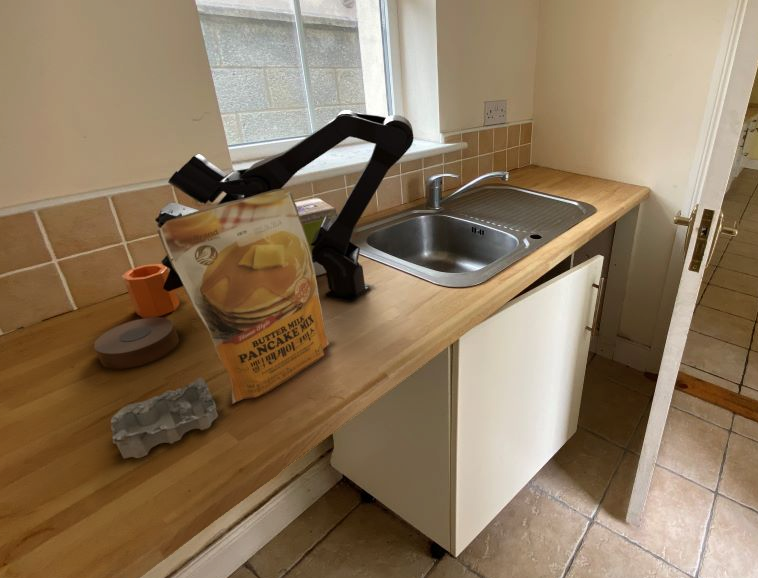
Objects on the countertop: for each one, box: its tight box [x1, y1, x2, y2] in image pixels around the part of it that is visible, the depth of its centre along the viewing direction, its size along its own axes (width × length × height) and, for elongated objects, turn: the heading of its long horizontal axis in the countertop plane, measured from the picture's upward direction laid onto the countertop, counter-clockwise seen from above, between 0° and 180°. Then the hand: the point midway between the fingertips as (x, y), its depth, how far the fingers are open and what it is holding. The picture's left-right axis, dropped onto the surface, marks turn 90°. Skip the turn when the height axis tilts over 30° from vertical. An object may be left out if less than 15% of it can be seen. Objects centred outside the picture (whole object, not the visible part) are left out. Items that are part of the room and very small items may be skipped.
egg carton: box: [110, 377, 219, 460], centre depth 59 cm, size 11×8×4 cm
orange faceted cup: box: [121, 263, 181, 319], centre depth 83 cm, size 6×6×8 cm
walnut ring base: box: [93, 316, 180, 370], centre depth 73 cm, size 10×10×3 cm
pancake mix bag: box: [156, 187, 330, 404], centre depth 65 cm, size 7×19×28 cm, turn 152°
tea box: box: [295, 197, 338, 277], centre depth 98 cm, size 15×10×15 cm
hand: (177, 277), depth 83 cm, fingers open, 9 cm apart
